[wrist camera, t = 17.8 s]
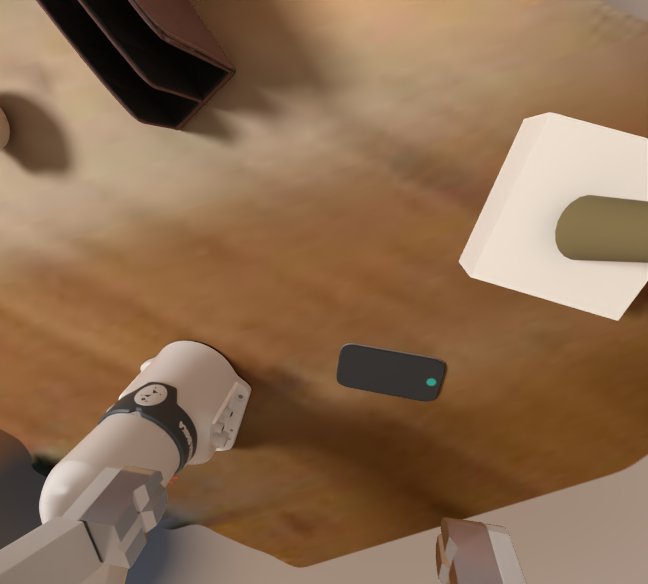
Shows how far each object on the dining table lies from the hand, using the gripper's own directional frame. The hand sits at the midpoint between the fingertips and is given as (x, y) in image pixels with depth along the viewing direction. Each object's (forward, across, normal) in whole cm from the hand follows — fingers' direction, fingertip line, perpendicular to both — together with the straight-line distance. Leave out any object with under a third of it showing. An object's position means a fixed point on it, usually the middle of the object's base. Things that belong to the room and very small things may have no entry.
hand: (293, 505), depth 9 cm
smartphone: (+35, -5, +20) cm, 40 cm away
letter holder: (+34, +24, -23) cm, 48 cm away
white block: (+35, -22, -3) cm, 41 cm away
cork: (+28, -21, -3) cm, 35 cm away
